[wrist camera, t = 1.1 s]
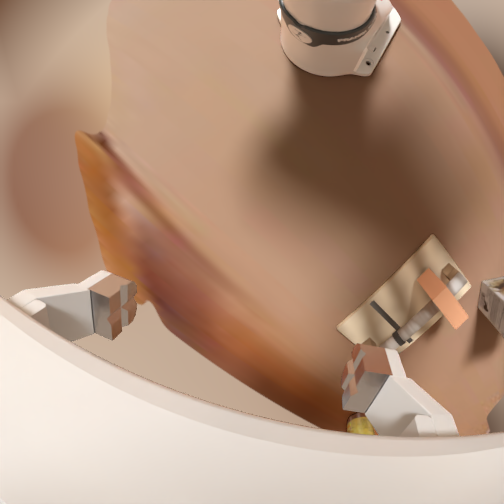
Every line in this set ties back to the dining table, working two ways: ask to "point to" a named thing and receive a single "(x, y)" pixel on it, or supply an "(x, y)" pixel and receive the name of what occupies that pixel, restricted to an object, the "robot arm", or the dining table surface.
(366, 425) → the sauce bottle
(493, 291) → the coffee box
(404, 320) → the pipe stand
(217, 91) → the dining table surface
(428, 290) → the bridge block
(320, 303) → the dining table surface
